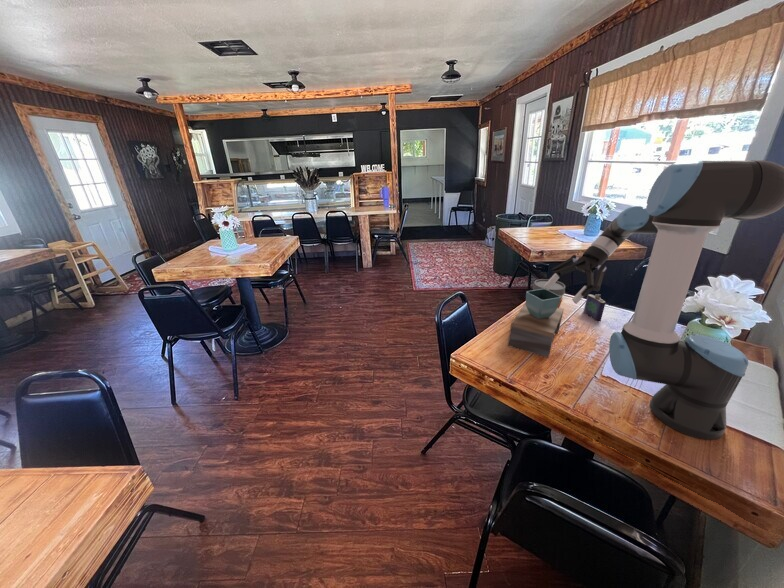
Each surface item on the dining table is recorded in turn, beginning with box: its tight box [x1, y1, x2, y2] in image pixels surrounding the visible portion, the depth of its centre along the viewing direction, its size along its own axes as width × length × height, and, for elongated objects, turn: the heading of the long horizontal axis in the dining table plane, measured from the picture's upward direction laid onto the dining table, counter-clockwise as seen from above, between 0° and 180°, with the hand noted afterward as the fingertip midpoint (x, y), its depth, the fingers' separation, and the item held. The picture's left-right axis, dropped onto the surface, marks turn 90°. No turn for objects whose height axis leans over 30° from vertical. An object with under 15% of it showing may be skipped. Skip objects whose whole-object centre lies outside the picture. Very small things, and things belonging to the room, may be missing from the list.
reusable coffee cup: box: [532, 278, 566, 308], centre depth 137 cm, size 13×13×15 cm
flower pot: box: [525, 289, 563, 319], centre depth 117 cm, size 9×9×9 cm
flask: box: [582, 293, 607, 322], centre depth 136 cm, size 9×3×11 cm, turn 9°
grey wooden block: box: [507, 302, 564, 359], centre depth 121 cm, size 22×14×10 cm, turn 145°
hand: (559, 294), depth 118 cm, fingers open, 13 cm apart
